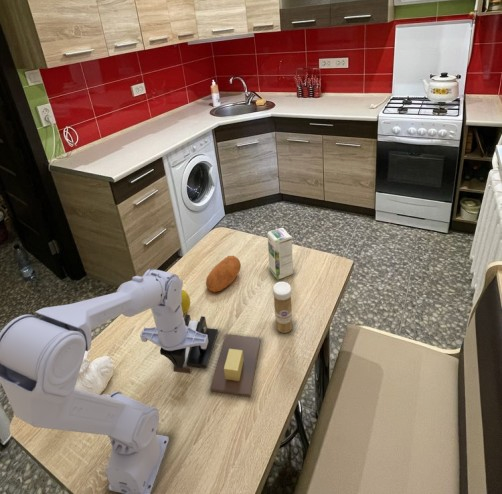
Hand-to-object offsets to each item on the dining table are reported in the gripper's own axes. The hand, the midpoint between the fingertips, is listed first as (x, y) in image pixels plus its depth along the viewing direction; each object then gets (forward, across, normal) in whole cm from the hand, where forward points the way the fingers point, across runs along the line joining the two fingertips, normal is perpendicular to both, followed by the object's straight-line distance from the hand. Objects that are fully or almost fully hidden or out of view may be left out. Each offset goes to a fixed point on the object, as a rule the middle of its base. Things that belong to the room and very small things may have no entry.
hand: (180, 363), depth 77 cm
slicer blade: (+2, 0, -5) cm, 6 cm away
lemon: (+7, +8, -19) cm, 21 cm away
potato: (+7, -1, -32) cm, 33 cm away
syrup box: (+7, -18, -38) cm, 42 cm away
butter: (+5, -11, -4) cm, 13 cm away
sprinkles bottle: (+7, -21, -18) cm, 28 cm away
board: (+6, -11, -6) cm, 14 cm away
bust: (+7, +21, +4) cm, 23 cm away
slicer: (+6, 0, -9) cm, 11 cm away
